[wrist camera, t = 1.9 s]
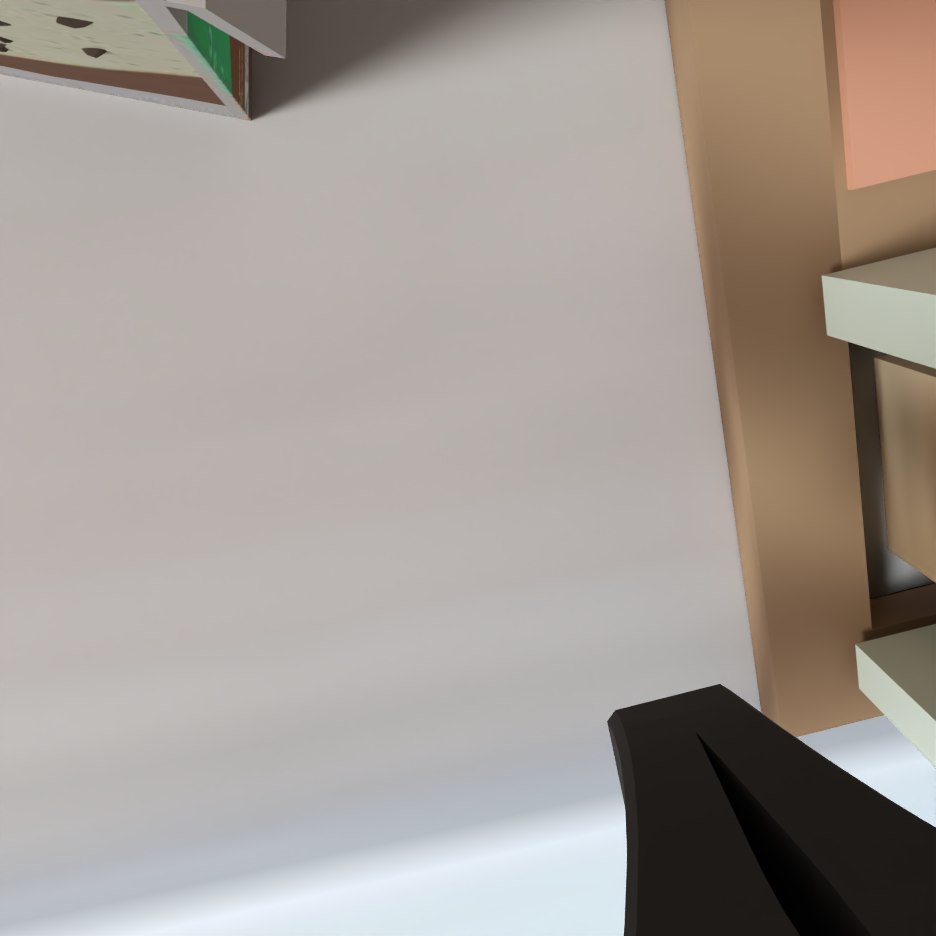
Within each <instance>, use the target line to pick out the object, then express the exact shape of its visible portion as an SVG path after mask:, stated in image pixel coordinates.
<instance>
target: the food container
mask: <svg viewBox="0 0 936 936" xmlns="http://www.w3.org/2000/svg"><path fill="white" fill-rule="evenodd" d="M286 16H287V0H0V74H3V75H8V76H13V77H19V78H24V79H30V80H35V81H40V82H46V83H51V84H56V85H62V86H67V87H73V88H78V89H83V90H89V91H94V92H99V93H105V94H110V95H116V96H121V97H126V98H132V99H137V100H142V101H148V102H153V103H159V104H164V105H169V106H175V107H180V108H185V109H191V110H196V111H202V112H207V113H212V114H218V115H223V116H229V117H234V118H239V119H245V120H250V121H251V48H253V49H254V50H256V51H258V52H260V53H261V54H263V55H265V56H272V57H278V58H285V59H286Z"/></svg>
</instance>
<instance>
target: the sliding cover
mask: <svg viewBox="0 0 936 936" xmlns="http://www.w3.org/2000/svg"><path fill="white" fill-rule="evenodd" d="M822 285H823V296H824V307H825V318H826V329H827V335H828V336H831V337H834V338H838V339H841V340H844V341H847V342H851V343H854V344H857V345H860V346H863V347H867V348H870V349H873V350H876V351H880V352H883V353H886V354H889V355H893V356H896V357H899V358H902V359H906V360H909V361H912V362H915V363H919V364H922V365H925V366H928V367H932V368H935V369H936V248H932V249H928V250H924V251H919V252H915V253H911V254H907V255H903V256H899V257H895V258H891V259H887V260H883V261H879V262H875V263H871V264H866V265H862V266H858V267H854V268H850V269H846V270H842V271H838V272H834V273H830V274H826V275H822ZM855 648H856V659H857V670H858V681H859V689H860V690H861V691H862V692H863V693H864V694H865V695H866V696H867V697H868V698H869V699H870V700H871V701H872V702H873V703H874V704H875V705H876V707H877V708H878V709H879V710H880V711H881V712H882V713H883V714H884V715H885V716H886V717H887V718H888V719H889V720H890V721H891V722H892V723H893V724H894V725H895V726H896V727H897V728H898V729H899V731H900V732H901V733H902V734H903V735H904V736H905V737H906V738H907V739H908V740H909V741H910V742H911V743H912V744H913V745H914V746H915V747H916V748H917V749H918V750H919V751H920V752H921V753H922V755H923V756H924V757H925V758H926V759H927V760H928V761H929V762H930V763H931V764H932V765H933V766H934V767H935V768H936V624H933V625H929V626H925V627H921V628H917V629H913V630H909V631H905V632H901V633H897V634H893V635H889V636H885V637H881V638H877V639H873V640H869V641H865V642H861V643H857V644H855Z"/></svg>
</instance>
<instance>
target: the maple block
mask: <svg viewBox="0 0 936 936" xmlns="http://www.w3.org/2000/svg"><path fill="white" fill-rule="evenodd" d="M874 365H875V379H876V392H877V406H878V420H879V433H880V447H881V460H882V474H883V487H884V501H885V514H886V528H887V541H888V550H889V551H891V552H892V553H894V554H895V555H897V556H898V557H899V558H901V559H902V560H904V561H905V562H907V563H908V564H909V565H911V566H912V567H914V568H915V569H917V570H918V571H919V572H921V573H922V574H924V575H925V576H927V577H928V578H929V579H931V580H932V581H934V582H935V583H936V369H935V368H932V367H928V366H925V365H922V364H919V363H915V362H912V361H909V360H906V359H902V358H899V357H896V356H893V355H889V354H886V355H882V356H878V357H874Z"/></svg>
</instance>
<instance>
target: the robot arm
mask: <svg viewBox="0 0 936 936" xmlns="http://www.w3.org/2000/svg"><path fill="white" fill-rule="evenodd" d="M607 722H608V727H609V732H610V736H611V741H612V746H613V751H614V756H615V760H616V765H617V770H618V775H619V780H620V784H621V789H622V794H623V799H624V804H625V810H626V834H627V878H626V903H625V928H624V936H936V827H934V826H932V825H931V824H929V823H927V822H925V821H924V820H922V819H920V818H919V817H917V816H915V815H914V814H912V813H911V812H909V811H907V810H906V809H904V808H902V807H901V806H899V805H897V804H896V803H894V802H893V801H891V800H889V799H888V798H886V797H885V796H883V795H882V794H880V793H878V792H877V791H875V790H874V789H872V788H871V787H869V786H868V785H866V784H865V783H863V782H861V781H860V780H858V779H857V778H855V777H854V776H852V775H851V774H849V773H848V772H846V771H844V770H843V769H841V768H840V767H838V766H837V765H835V764H834V763H832V762H831V761H829V760H828V759H826V758H825V757H823V756H822V755H820V754H819V753H818V752H816V751H815V750H813V749H812V748H810V747H809V746H807V745H806V744H804V743H803V742H802V741H800V740H799V739H797V738H796V737H794V736H793V735H792V734H790V733H789V732H787V731H786V730H785V729H783V728H782V727H780V726H779V725H778V724H776V723H775V722H773V721H772V720H771V719H769V718H768V717H766V716H765V715H764V714H762V713H761V712H759V711H758V710H757V709H755V708H754V707H753V706H751V705H750V704H748V703H747V702H746V701H744V700H743V699H742V698H740V697H739V696H737V695H736V694H735V693H733V692H732V691H730V690H729V689H727V688H726V687H724V686H722V685H721V684H718V685H714V686H710V687H706V688H702V689H698V690H694V691H690V692H686V693H682V694H678V695H674V696H670V697H666V698H662V699H658V700H654V701H650V702H646V703H642V704H638V705H634V706H630V707H627V708H623V709H619V710H615V712H614V713H613V714H612V716H611V717H610V718H609V720H608V721H607Z"/></svg>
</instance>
